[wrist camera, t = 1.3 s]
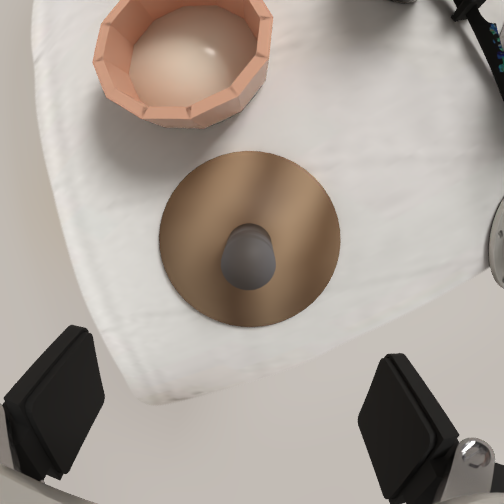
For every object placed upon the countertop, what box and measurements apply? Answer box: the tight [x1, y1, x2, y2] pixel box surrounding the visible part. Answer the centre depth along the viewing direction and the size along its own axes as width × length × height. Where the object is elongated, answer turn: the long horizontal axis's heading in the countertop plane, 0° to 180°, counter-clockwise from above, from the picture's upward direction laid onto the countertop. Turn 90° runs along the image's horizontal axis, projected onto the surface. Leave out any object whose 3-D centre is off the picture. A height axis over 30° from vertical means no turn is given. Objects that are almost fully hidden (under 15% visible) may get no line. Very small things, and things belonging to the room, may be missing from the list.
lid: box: [159, 151, 340, 327], centre depth 23 cm, size 15×15×6 cm
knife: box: [451, 0, 504, 101], centre depth 18 cm, size 30×3×4 cm, turn 28°
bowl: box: [93, 0, 273, 129], centre depth 19 cm, size 12×12×6 cm
